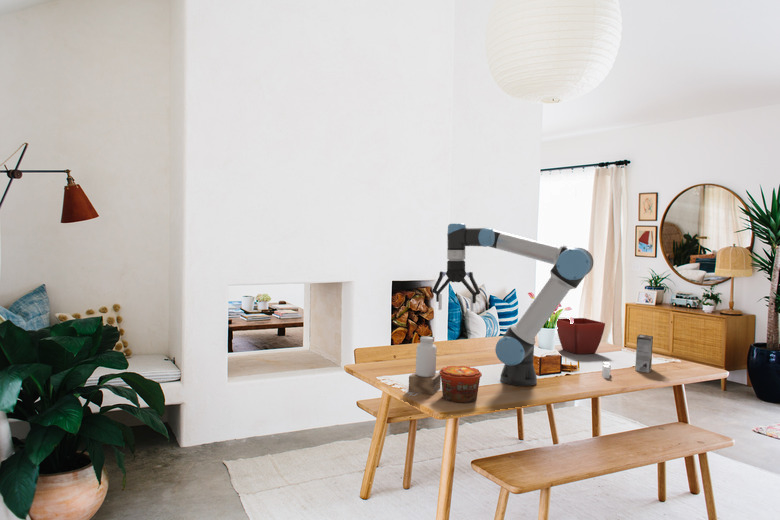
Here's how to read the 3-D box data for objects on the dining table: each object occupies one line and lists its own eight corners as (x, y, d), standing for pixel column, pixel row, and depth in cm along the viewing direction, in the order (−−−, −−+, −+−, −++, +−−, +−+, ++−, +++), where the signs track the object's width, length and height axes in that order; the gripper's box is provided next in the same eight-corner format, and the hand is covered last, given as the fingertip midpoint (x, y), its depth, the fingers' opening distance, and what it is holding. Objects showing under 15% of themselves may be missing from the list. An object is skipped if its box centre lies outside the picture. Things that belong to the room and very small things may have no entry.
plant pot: (553, 348, 311) (554, 318, 310) (582, 347, 316) (583, 317, 316) (574, 355, 293) (575, 324, 292) (604, 354, 298) (606, 323, 297)
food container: (430, 395, 215) (431, 367, 214) (462, 390, 223) (463, 363, 223) (456, 407, 201) (457, 377, 201) (489, 400, 210) (490, 372, 209)
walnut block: (440, 388, 225) (440, 373, 224) (432, 394, 215) (433, 379, 215) (416, 385, 228) (417, 370, 228) (408, 391, 219) (409, 376, 219)
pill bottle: (434, 378, 217) (435, 340, 216) (414, 376, 218) (415, 338, 218) (436, 373, 225) (438, 336, 224) (417, 371, 226) (418, 335, 225)
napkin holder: (601, 371, 263) (602, 359, 263) (624, 376, 254) (625, 364, 254) (584, 375, 254) (584, 363, 253) (607, 381, 245) (608, 368, 244)
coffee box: (637, 367, 272) (638, 334, 271) (651, 369, 268) (653, 335, 268) (634, 370, 264) (636, 336, 263) (649, 372, 261) (651, 338, 260)
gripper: (425, 260, 235) (424, 310, 236) (484, 261, 228) (484, 312, 228) (429, 259, 242) (429, 307, 243) (487, 260, 235) (486, 310, 236)
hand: (455, 310), depth 236 cm, fingers open, 13 cm apart
